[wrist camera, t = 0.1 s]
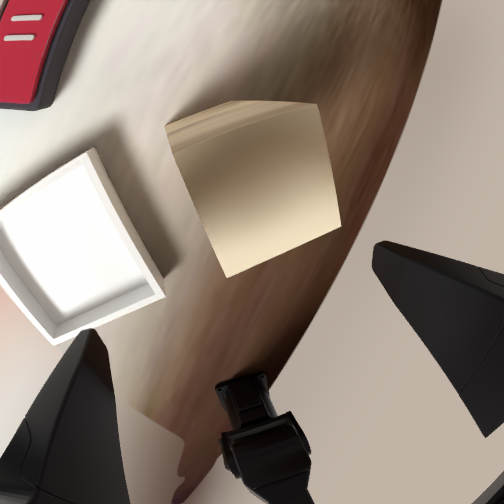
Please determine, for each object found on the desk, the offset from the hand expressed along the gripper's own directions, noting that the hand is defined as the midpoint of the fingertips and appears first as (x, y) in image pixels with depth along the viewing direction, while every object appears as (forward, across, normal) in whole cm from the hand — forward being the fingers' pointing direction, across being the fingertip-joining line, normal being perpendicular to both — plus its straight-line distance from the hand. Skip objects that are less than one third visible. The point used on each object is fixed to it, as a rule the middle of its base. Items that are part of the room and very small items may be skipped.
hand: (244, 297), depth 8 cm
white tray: (+15, +11, +3) cm, 19 cm away
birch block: (+15, -2, -2) cm, 15 cm away
